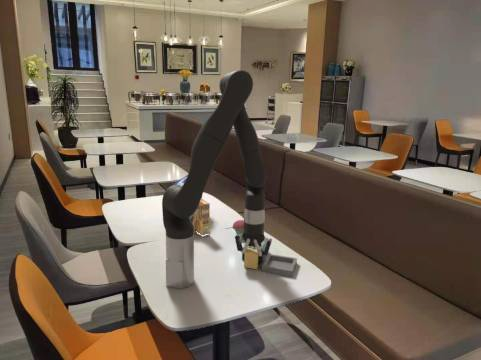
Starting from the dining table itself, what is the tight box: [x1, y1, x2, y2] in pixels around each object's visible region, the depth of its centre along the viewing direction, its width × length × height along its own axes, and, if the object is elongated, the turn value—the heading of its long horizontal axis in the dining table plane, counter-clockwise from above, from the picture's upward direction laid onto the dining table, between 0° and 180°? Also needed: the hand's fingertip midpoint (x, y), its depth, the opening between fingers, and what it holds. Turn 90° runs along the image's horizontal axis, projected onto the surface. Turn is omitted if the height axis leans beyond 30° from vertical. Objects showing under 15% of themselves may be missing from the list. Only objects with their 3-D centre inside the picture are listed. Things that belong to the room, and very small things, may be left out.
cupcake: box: [232, 219, 244, 235], centre depth 167 cm, size 9×8×12 cm
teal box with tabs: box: [248, 236, 269, 259], centre depth 148 cm, size 12×5×6 cm, turn 163°
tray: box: [261, 253, 298, 277], centre depth 140 cm, size 11×11×2 cm
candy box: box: [192, 198, 211, 235], centre depth 168 cm, size 9×4×15 cm, turn 33°
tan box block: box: [243, 248, 260, 270], centre depth 139 cm, size 4×5×6 cm
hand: (252, 262), depth 140 cm, fingers closed on tan box block, 5 cm apart
